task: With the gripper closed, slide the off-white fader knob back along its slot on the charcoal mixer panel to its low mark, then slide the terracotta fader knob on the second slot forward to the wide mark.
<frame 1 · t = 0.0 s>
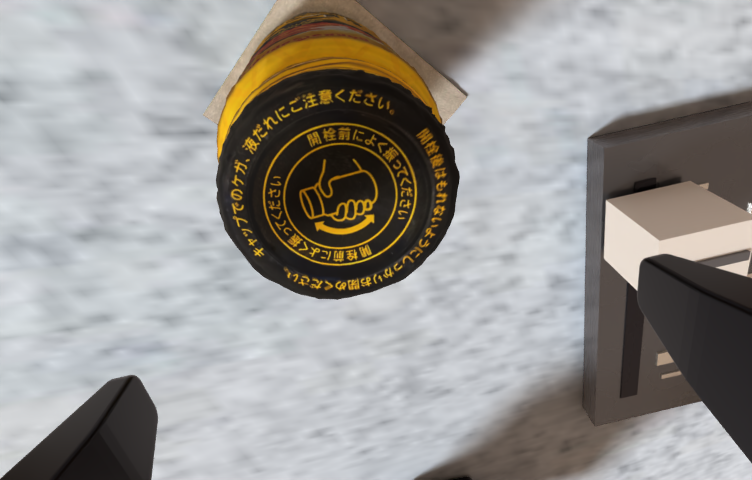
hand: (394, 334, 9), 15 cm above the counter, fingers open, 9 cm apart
condiment: (337, 103, 22), on the counter
mixer panel: (698, 267, 28), on the counter
fader a: (673, 241, 22), point 4 cm above the counter, slide at 11.0 cm
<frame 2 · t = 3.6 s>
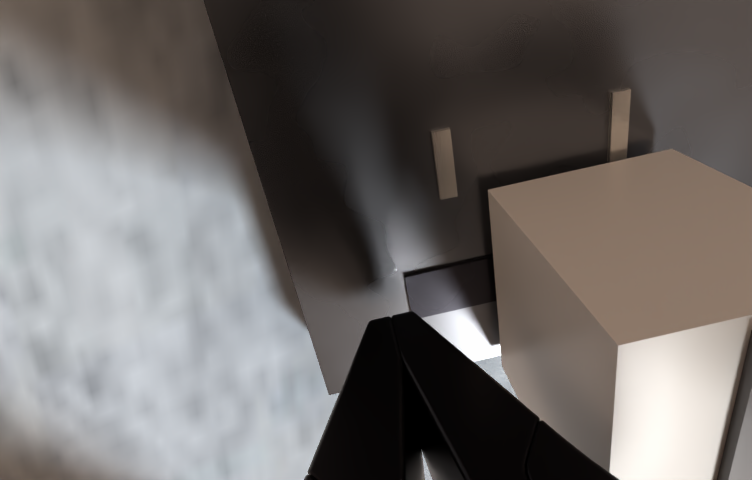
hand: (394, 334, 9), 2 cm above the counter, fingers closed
fader a: (644, 339, 8), point 4 cm above the counter, slide at 9.8 cm, touching gripper
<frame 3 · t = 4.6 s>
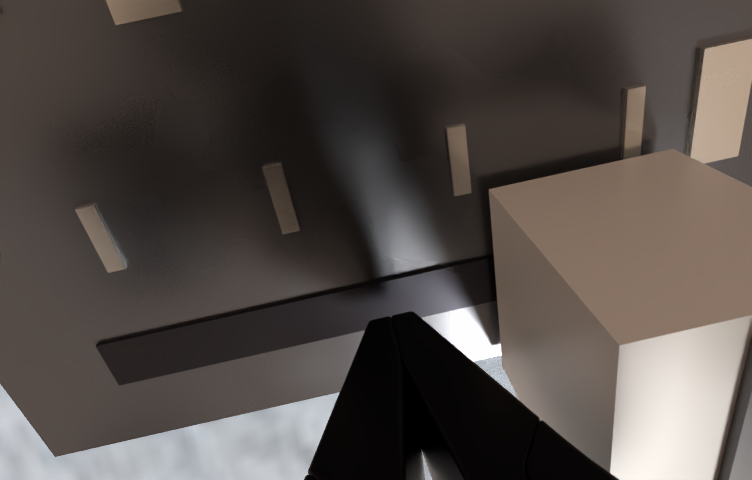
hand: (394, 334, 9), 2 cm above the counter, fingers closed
mixer panel: (423, 24, 9), on the counter
fader a: (644, 339, 8), point 4 cm above the counter, slide at 4.0 cm, touching gripper
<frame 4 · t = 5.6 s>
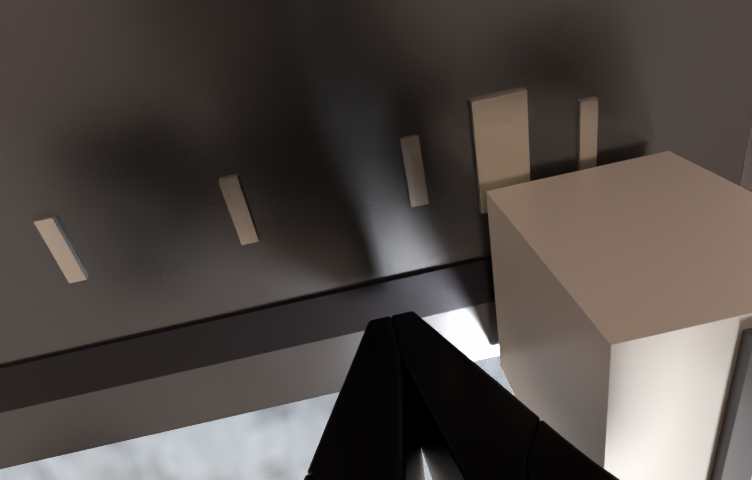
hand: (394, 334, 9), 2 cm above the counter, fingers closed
mixer panel: (214, 73, 9), on the counter
fader a: (640, 339, 8), point 4 cm above the counter, slide at 0.3 cm, touching gripper
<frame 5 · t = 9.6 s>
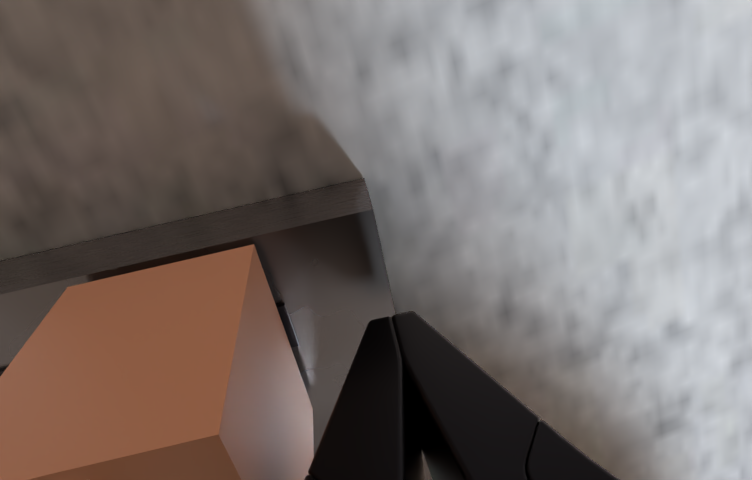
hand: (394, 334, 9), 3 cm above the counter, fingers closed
fader b: (178, 445, 8), point 4 cm above the counter, slide at 0.7 cm, touching gripper
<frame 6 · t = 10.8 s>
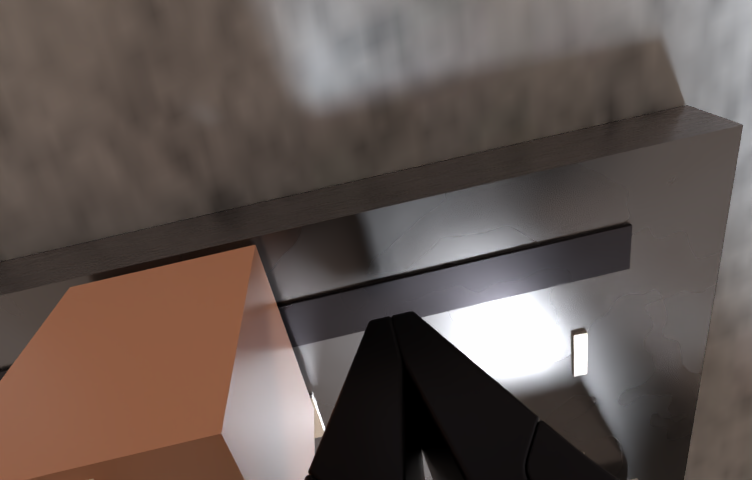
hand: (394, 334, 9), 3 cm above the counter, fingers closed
mixer panel: (330, 423, 13), on the counter
fader b: (180, 444, 8), point 4 cm above the counter, slide at 7.5 cm, touching gripper
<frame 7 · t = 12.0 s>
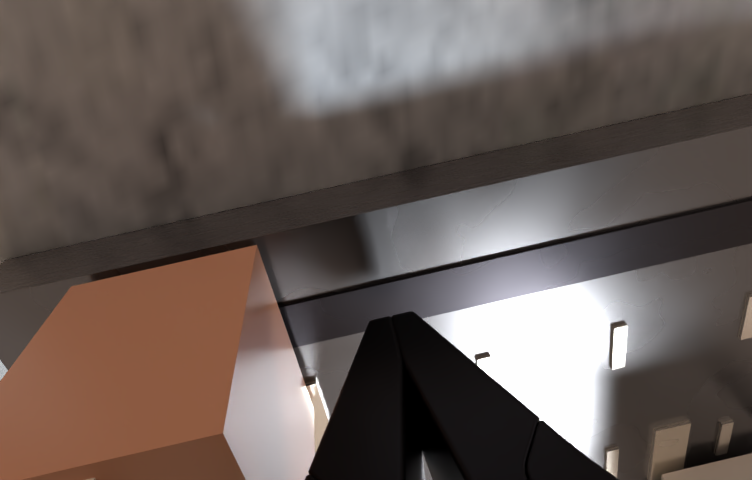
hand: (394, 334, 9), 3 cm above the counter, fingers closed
mixer panel: (473, 391, 13), on the counter
fader b: (181, 444, 8), point 4 cm above the counter, slide at 11.3 cm, touching gripper
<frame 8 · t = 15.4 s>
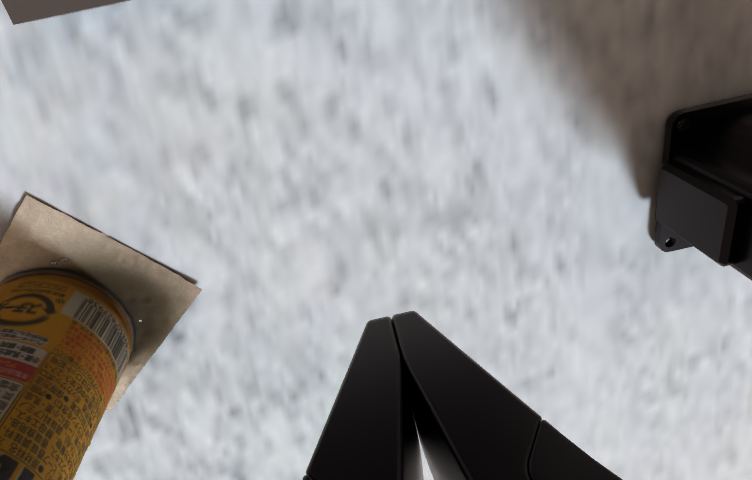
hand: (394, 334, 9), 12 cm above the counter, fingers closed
condiment: (77, 310, 22), on the counter
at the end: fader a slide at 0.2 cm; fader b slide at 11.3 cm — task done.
